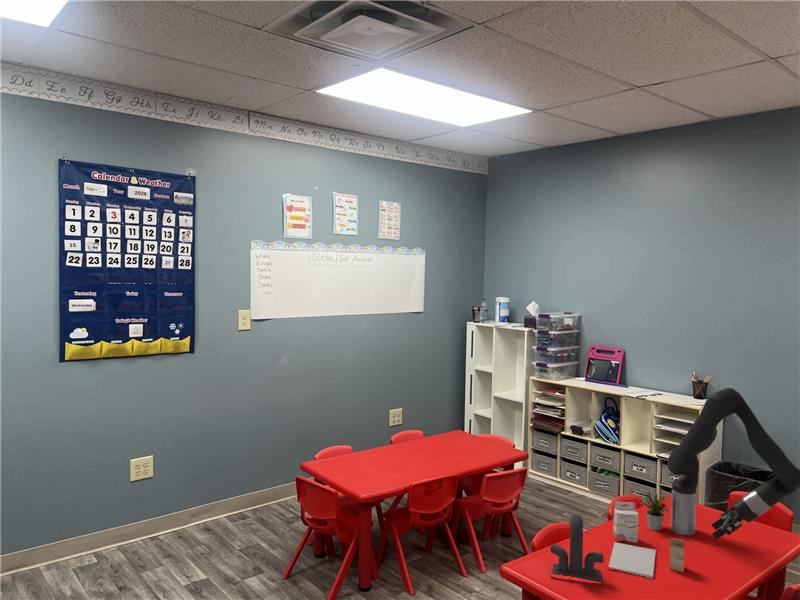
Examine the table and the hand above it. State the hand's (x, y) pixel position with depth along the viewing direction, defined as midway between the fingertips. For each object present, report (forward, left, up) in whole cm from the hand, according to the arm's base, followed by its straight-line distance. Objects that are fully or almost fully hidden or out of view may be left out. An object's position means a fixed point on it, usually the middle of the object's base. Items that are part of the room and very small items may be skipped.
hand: (713, 532), depth 213 cm
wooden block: (0, -12, -16) cm, 20 cm away
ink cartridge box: (-17, -31, -16) cm, 39 cm away
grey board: (+1, -27, -16) cm, 31 cm away
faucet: (+18, -45, -16) cm, 51 cm away
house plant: (-34, -22, -16) cm, 43 cm away
